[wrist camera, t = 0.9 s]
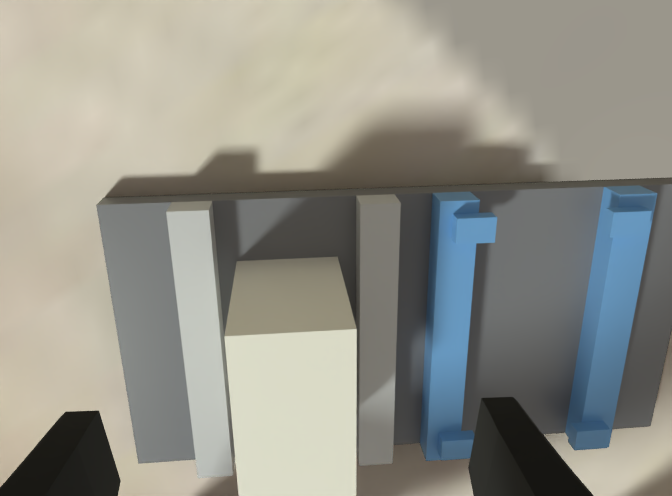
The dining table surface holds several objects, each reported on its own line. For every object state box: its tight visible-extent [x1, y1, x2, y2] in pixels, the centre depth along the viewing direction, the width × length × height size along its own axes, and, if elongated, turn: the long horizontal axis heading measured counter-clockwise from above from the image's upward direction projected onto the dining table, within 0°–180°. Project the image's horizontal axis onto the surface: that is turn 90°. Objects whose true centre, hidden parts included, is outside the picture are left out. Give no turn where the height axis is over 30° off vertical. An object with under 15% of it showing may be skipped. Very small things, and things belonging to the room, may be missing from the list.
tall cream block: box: [224, 257, 357, 496], centre depth 22 cm, size 7×4×6 cm, turn 0°
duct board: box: [97, 178, 672, 478], centre depth 25 cm, size 12×24×3 cm, turn 90°
